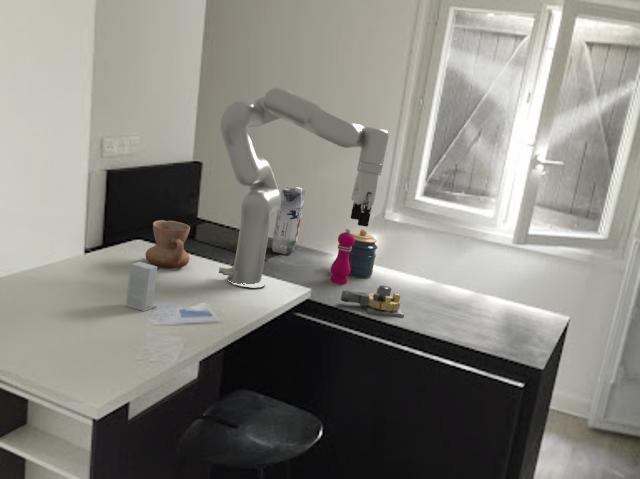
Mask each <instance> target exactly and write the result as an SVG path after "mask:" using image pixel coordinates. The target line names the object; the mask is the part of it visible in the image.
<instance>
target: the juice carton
mask: <svg viewBox="0 0 640 479" xmlns="http://www.w3.org/2000/svg"><path fill="white" fill-rule="evenodd" d="M305 194H306V191H305V190H303V188H302V187H299V186H296V187H295V188H292V187H286V188H284V189H281V193H280V196H281V206H280V208H279V210H278V211H277V212H276V219H275V226H274V231H273V238H272V243H271V244H272V245H271V246H272V247H271V248H272V252H273V253H279V254H283V255H287V256H290V255H291V254H292V253H293V252H294V251H295V248H296V246H297V243H298V238H299V233H300V226H301V221H302V215H303V209H304V205H305V204H304V202H305Z"/></svg>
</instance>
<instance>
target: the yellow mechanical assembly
mask: <svg viewBox="0 0 640 479" xmlns="http://www.w3.org/2000/svg"><path fill="white" fill-rule="evenodd" d="M378 291H379V287H377V289H376V292H369V293H367V292H361V291H357V292H356V291H351V290H349V291H348V290H341V295H340V301H341V302H345V303H353V304H354V303H355V304H359V305H362V304H364V305H369V306H372V307H374V308H377V309H380V310H388V311H394V310H397V309H400V306H401V301H400V300H401V299H400V298H401V294H400V293H397V292H394V293H393V295H390V296H384V301H380V300H381V295H380V294H378Z"/></svg>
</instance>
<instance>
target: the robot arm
mask: <svg viewBox="0 0 640 479" xmlns="http://www.w3.org/2000/svg"><path fill="white" fill-rule="evenodd" d="M279 119H282V120H284V121H287V122H288V123H290V124H293V125H295V126H296V127H300V128H302V129H304V130H306V131H307V132H309V133H311V134H313V135H316V136H318V137H319V138H321V139H322V140H323V139H324V140H325V141H328V142H331V143H332V144H334V145H337V146H339V147H341V148H344V149H350V148H360V152H359V158H358V163H357V168H356V171H357V175H356V178H355V182H354V184H353V190H352V194H351V200H352V201H353V204H352V208H351V213H350V219H351V220H356V221H357V225H358V226H360V227H365V228H366V227H369V222H370V218H371V214H372V209H373V208H372V207H373V205H374V202H375V198H376V194H377V187H378V181H379V180H378V179H379V176H382V171H383V166H384V161H385V155H386V152H387V146H388V141H389V137H390V135H389V132H388V130H386V129H384V128H383V129H382V128H377V127H373V126H369V127H368V126H365V125H362V124H360V123H357V122H349V121H347V120H344V119H342V118H340V117H337V116H335V115H333V114H330V113H329V112H328V111H326V110H324V109H323V108H322V107H320V105H318V104H317V103H315V102H313V101H311V100H308V99H306V98H304V97H302V96H300V95H297V94H296V93H294V92H293V91H292V90H290V89H287V88H283V87H273V88H270V89H269V90H268V91H267V92H266V93H265V95H264V96H263V97H260V98H257V99H254V100H248V99H247V100H246V99H240V100H234V101H233V102H232V103H231V104H229V105H228V106H227V107H226V108H225V109H224V111H223V113H222V115H221V118H220V123H219V127H220V134H221V137H222V141H223V142H224V146H225V148H226V151H227V155H228V159H229V162H230V165H231V168H232V170H233V173H234V177H235V179H236V181H237V183H239V184H240V185H242V187H243V186H244V187H249V190H250V191H249V192H247V193H246V195H244V197H243V199H242V200H241V207H240V223H239V224H240V225H239V230H238V231H239V232H238V239H237V245H236V252H235V258H234V264H233V265H232V266H231V267H229V268H227V267H219V268H218V273H219V274H222V275H223V276H227V278H226V280H227V279H228V280H229V281H231V282H233V283H237V284H241V283H242V284H243V283H246V284H255V283H259V282H260V281H261V279H262V277H263V276H262V275H263V271H264V266H265V258H266V253H267V246H268V241H269V235H270V234H269V233H270V220H271V219H270V218H271V216H272V215H274V214H275V213H276V214H277V212H278V210H279V208H280V206H281V193H280V190H279V187H278V183H277V181H276V178H275V174H274V172H273V169H272V166H271V164H270V163H269V162H268V160H267V159H266V158H264V157H262V156H259V155H257V153H256V150H255V148H254V143H253V141H252V139H251V137H250V136H249V133H248V128H257V127H261V126H263V125H266V124H269V123H272V122H274V121H276V120H279ZM243 285H245V284H243Z"/></svg>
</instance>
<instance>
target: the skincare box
mask: <svg viewBox="0 0 640 479" xmlns="http://www.w3.org/2000/svg"><path fill="white" fill-rule="evenodd" d="M129 268H130V271H129V276H128V277H129V278H128V287H127V293H126V302H125V306H126V307H128V308H132V309H135V310H139V311H142V312H146V311H148V310H150V309H153V308H154V307H153V305H154V298H155V297H154V296H155V289H156V282H157V274H158V273H157V272H158V266H155V265H153V264H150V263H149V264H148V263H145V262H142V261H138V262H134V263H131V264H130V266H129Z"/></svg>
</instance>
